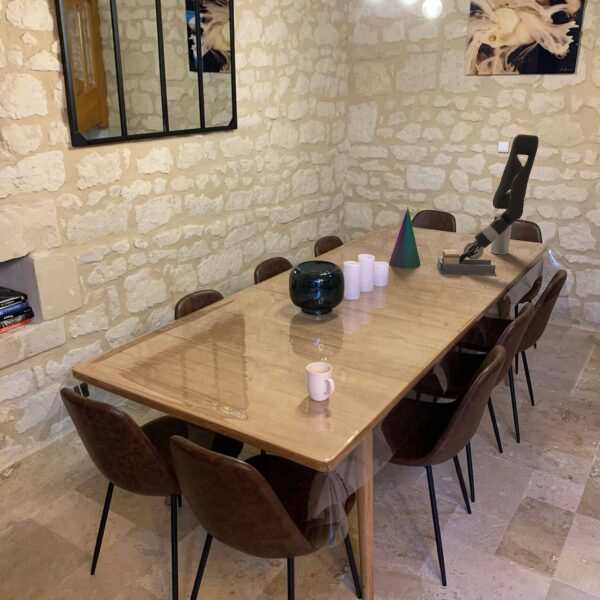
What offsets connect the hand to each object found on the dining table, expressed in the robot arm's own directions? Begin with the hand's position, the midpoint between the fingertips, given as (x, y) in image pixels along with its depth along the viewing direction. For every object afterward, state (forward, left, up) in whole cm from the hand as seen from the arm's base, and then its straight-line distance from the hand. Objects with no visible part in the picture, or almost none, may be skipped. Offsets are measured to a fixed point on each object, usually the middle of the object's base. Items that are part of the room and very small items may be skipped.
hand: (459, 260), depth 289 cm
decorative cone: (-9, -25, -5) cm, 28 cm away
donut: (-19, +11, -5) cm, 22 cm away
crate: (0, -4, -4) cm, 5 cm away
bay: (0, +4, -5) cm, 6 cm away
